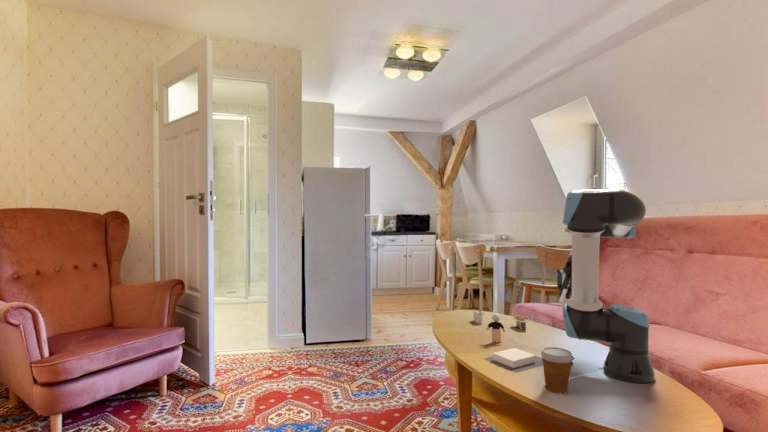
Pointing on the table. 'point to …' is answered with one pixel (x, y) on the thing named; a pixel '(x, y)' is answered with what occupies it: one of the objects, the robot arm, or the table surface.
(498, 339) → the grandmother figurine
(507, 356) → the tile
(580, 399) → the table surface
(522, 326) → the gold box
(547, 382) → the disposable coffee cup
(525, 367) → the mat
